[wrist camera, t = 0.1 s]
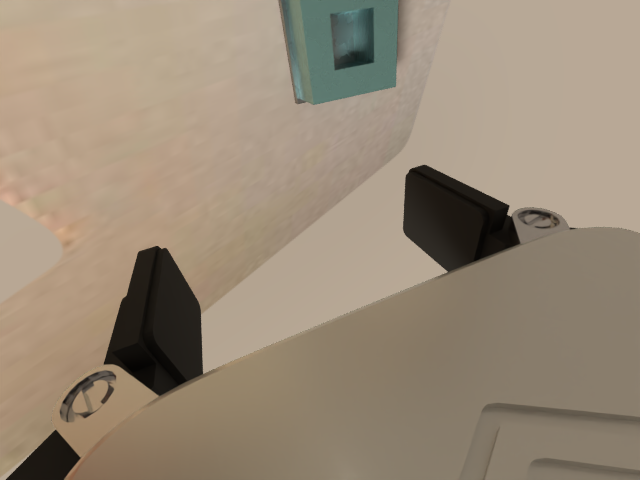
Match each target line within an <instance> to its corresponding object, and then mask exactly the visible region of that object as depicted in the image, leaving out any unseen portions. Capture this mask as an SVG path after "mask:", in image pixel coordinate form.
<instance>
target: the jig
mask: <svg viewBox="0 0 640 480" xmlns="http://www.w3.org/2000/svg"><path fill="white" fill-rule="evenodd" d="M279 6H280V12H281V18H282V24H283V31H284V37H285V43H286V49H287V55H288V61H289V67H290V73H291V79H292V85H293V91H294V97H295V103H296V104H300V103H305V102H308V103H311V104H313V105H315V104H320V103H324V102H329V101H333V100H338V99H342V98H347V97H351V96H356V95H360V94H365V93H369V92H374V91H379V90H383V89H388V88H392V87H396V63H397V27H398V0H279Z"/></svg>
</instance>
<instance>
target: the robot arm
mask: <svg viewBox="0 0 640 480" xmlns="http://www.w3.org/2000/svg"><path fill="white" fill-rule="evenodd" d="M508 209H509V205H507V204H505V203H503V202H501V201H499V200H497V199H495V198H492V197H491V196H489V195H486V194H484V193H482V192H480V191H478V190H476V189H474V188H472V187H470V186H468V185H466V184H463V183H462V182H460V181H457V180H456V179H453V178H451V177H449V176H447V175H445V174H443V173H441V172H439V171H437V170H434V169H433V168H431V167H429V166H427V165H422V166H418V167H415V168H412V169H410V170H409V173H408V174H407V175H406V182H405V201H404V221H403V230H404V233H405V235H406V236H407V237H408V238H409V239H410V240H412V241H413V242H414V243H415V244H416V245H417V246H419V247H420V248H421V249H422V250H423V251H425V252H426V253H427V254H428V255H429V256H430V257H431V258H433V259H434V260H435V261H436V262H437V263H438V264H440V265H441V266H442V267H443V268H444V269H445V270H447V271H448V272H447V273H445V274H442V275H440V276H438V277H435V278H432V279H430V280H428V281H425V282H422V283H420V284H418V285H415V286H413V287H410V288H408V289H405V290H403V291H400V292H398V293H395V294H393V295H390V296H388V297H386V298H383V299H381V300H378V301H376V302H373V303H371V304H368V305H366V306H364V307H361V308H359V309H356V310H354V311H351V312H349V313H346V314H344V315H342V316H339V317H337V318H334V319H332V320H329V321H327V322H325V323H322V324H320V325H318V326H315V327H313V328H310V329H308V330H305V331H303V332H300V333H298V334H296V335H294V336H291V337H288V338H286V339H284V340H281V341H279V342H276V343H274V344H271V345H269V346H267V347H264V348H262V349H260V350H257V351H255V352H253V353H250V354H248V355H246V356H243V357H241V358H239V359H236V360H234V361H231V362H229V363H227V364H225V365H222V366H220V367H218V368H216V369H213V370H211V371H209V372H207V373H205V374H203V365H202V335H201V309H200V305H199V302H198V300H197V299H196V297H195V295H194V294H193V292H192V290H191V288H190V287H189V285H188V283H187V282H186V280H185V278H184V277H183V275H182V273H181V271H180V270H179V268H178V266H177V265H176V263H175V261H174V260H173V258H172V256H171V254H170V253H169V251H168V250H167V249H166V248H163V249H161V248H160V247H159V246H155V247H152V248H149V249H145V250H142V251H139V252H138V255H137V259H136V262H135V266H134V270H133V274H132V277H131V281H130V285H129V289H128V292H127V296H126V297H124V298H123V299H122V302H121V305H120V308H119V312H118V315H117V319H116V322H115V326H114V329H113V333H112V337H111V340H110V344H109V347H108V351H107V354H106V358H105V361H104V365H102V366H99V367H96V368H94V369H92V370H90V371H88V372H86V373H84V374H83V375H82V376H80V377H79V378H78V379H76V380H75V381H74V382H73V383H72V384H71V385H70V386H69V387H68V388H67V389H66V390H65V391H64V392H63V393H62V395H61V396H60V398H59V399H58V400H57V402H56V404H55V406H54V409H53V411H52V417H51V421H52V424H53V426H54V428H55V429H56V430H55V431H54V432H53V433H52V434H51V435H50V436H49V437H48V438H47V439H46V440H45V441H44V442H43V443H42V444H41V445H40V446H39V447H38V448H37V449H36V450H35V451H34V452H33V453H32V454H31V455H30V456H29V457H28V458H27V459H26V460H25V461H24V462H23V463H22V464H21V465H20V466H19V467H18V468H17V469H16V470H15V471H14V472H13V473H12V474H11V475H10V476H9V477H8V478H7V479H6V480H640V233H638V232H634V231H631V230H627V229H622V228H612V227H592V228H569V226H568V224H567V222H566V221H565V219H564V218H563V217H562V216H560V215H559V214H557V213H555V212H552V211H550V210H546V209H542V208H534V207H532V208H531V207H530V208H521V209H518V210H516V211H515V212H514V213H513V214H512V217H510V216H508V215H507V212H508Z"/></svg>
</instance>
